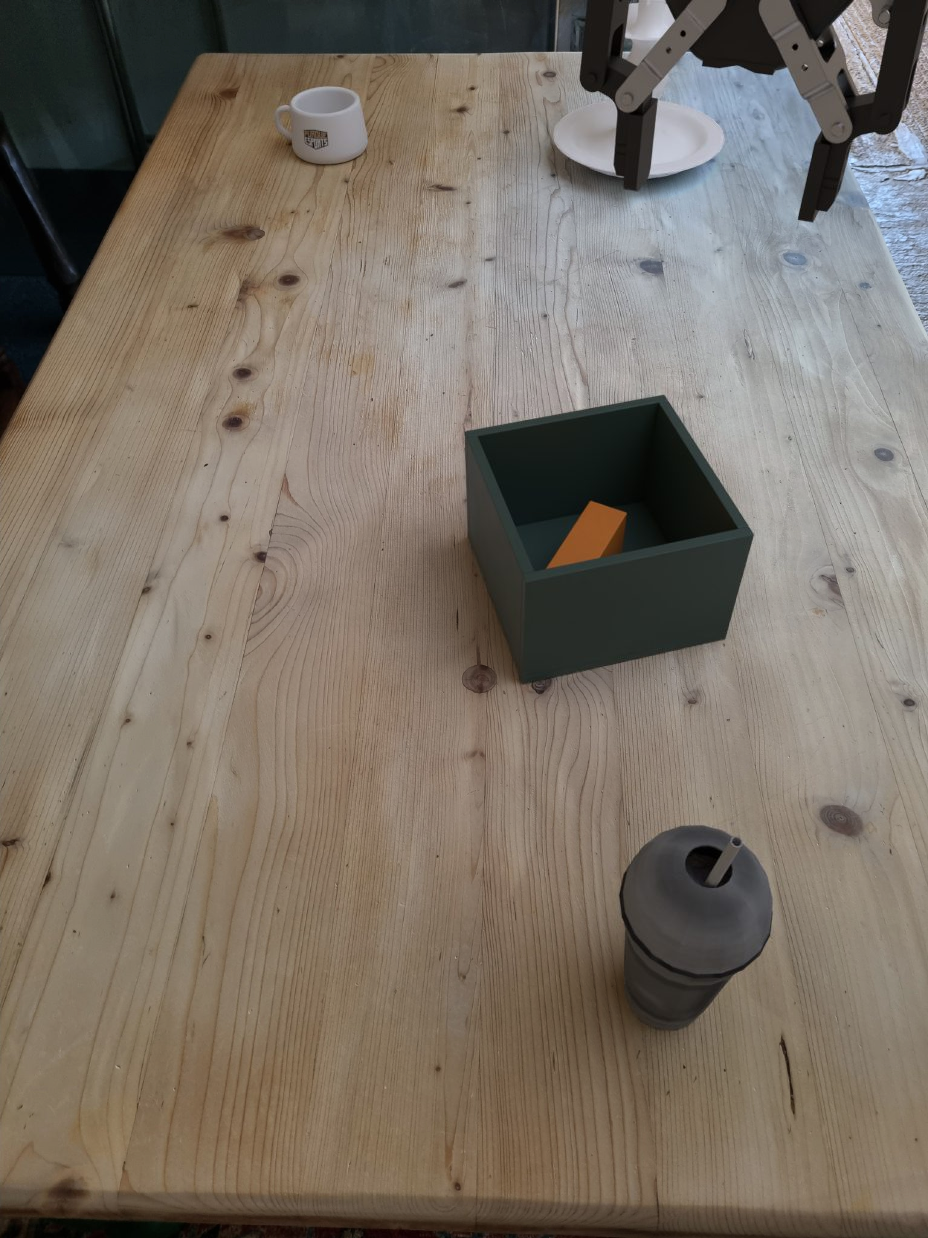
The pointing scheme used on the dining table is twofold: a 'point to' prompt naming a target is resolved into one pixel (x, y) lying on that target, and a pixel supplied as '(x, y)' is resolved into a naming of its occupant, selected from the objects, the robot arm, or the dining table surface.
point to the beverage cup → (690, 921)
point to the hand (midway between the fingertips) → (720, 198)
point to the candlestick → (677, 127)
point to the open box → (613, 585)
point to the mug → (325, 125)
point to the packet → (592, 536)
